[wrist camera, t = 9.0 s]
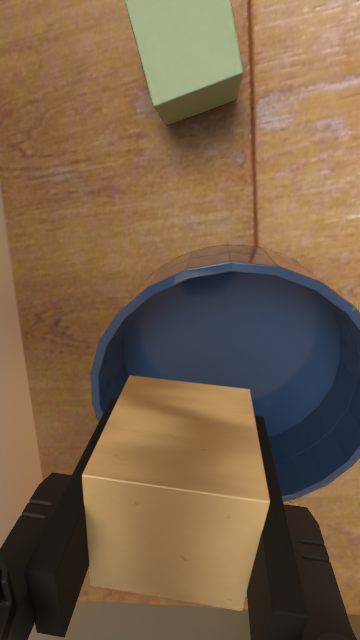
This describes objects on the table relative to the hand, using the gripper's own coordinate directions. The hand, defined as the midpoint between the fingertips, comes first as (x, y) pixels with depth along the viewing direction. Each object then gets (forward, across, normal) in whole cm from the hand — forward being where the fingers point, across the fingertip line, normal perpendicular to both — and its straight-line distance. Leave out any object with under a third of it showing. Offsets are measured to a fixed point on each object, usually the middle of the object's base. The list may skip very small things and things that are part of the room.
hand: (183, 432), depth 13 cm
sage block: (+14, -2, +17) cm, 22 cm away
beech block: (0, 0, 0) cm, 0 cm away
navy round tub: (+14, +3, -4) cm, 15 cm away
